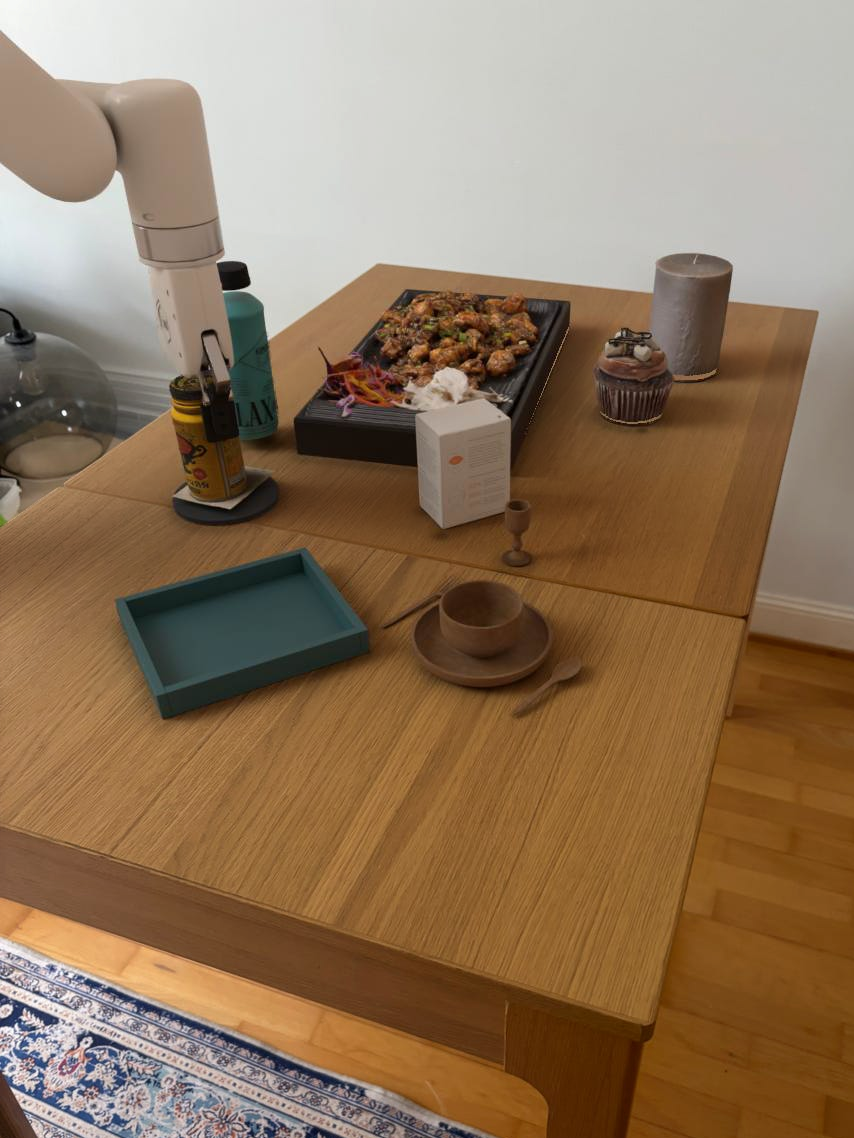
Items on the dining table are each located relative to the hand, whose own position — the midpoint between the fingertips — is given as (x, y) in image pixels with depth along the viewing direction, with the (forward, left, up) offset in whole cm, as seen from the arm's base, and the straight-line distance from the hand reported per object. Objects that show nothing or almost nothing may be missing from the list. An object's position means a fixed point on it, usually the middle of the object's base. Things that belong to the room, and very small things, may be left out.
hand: (212, 424), depth 98 cm
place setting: (+15, -34, -9) cm, 38 cm away
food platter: (+34, +15, -9) cm, 38 cm away
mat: (0, 0, -8) cm, 8 cm away
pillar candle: (+64, +5, -9) cm, 65 cm away
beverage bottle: (+7, +12, -9) cm, 16 cm away
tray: (-6, -24, -8) cm, 26 cm away
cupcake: (+50, -3, -9) cm, 51 cm away
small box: (+21, -14, -9) cm, 27 cm away
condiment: (0, 0, -7) cm, 7 cm away
